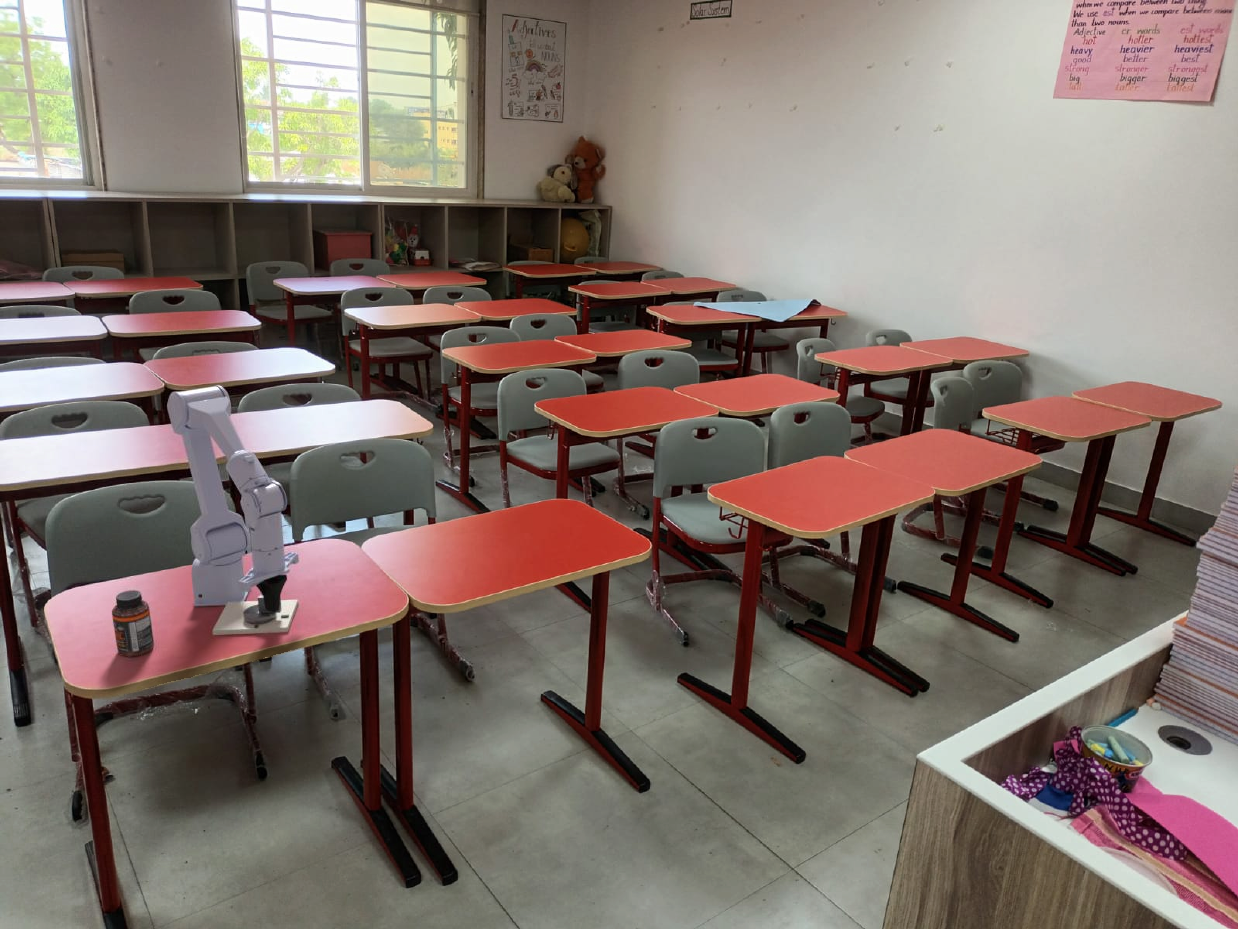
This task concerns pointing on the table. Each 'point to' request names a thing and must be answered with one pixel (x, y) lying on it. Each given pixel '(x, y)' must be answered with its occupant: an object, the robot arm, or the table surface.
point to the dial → (259, 613)
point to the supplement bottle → (132, 624)
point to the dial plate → (235, 624)
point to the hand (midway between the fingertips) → (273, 609)
